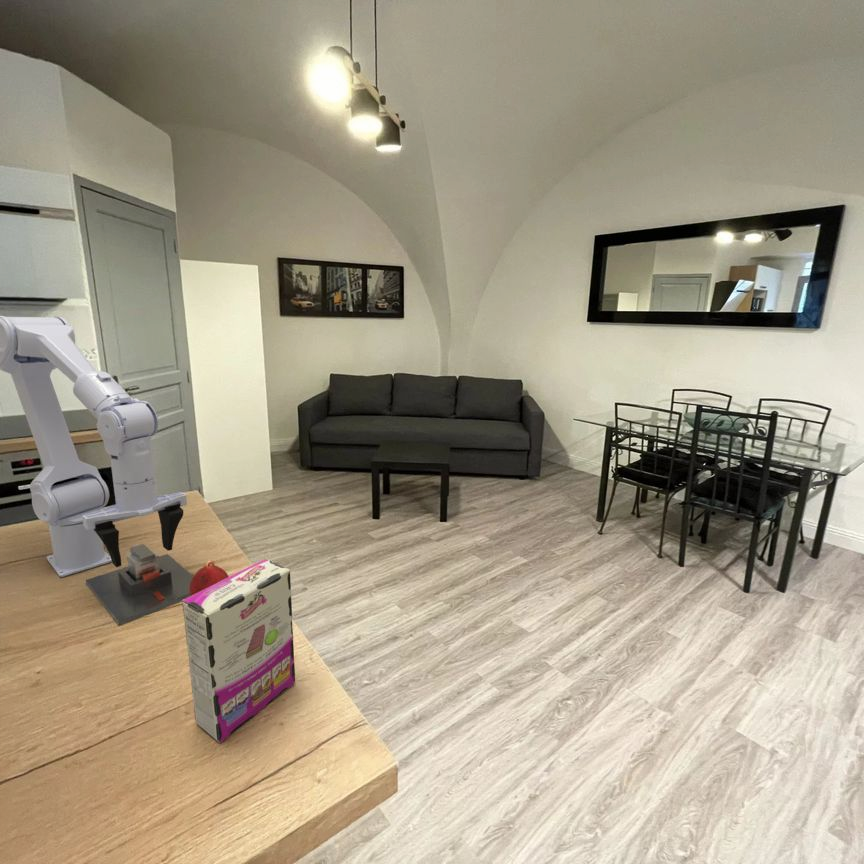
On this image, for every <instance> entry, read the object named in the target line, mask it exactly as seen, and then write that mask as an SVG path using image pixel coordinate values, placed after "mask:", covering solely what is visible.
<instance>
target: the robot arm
mask: <svg viewBox="0 0 864 864" xmlns="http://www.w3.org/2000/svg"><path fill="white" fill-rule="evenodd" d="M56 369H58V370H59V371H60V372H61V373H62V374H64V376H65V377H67V378H68V379H69V380H70V381H72V383H74V384H73V388H72V392H73V395H74V396H75V397H76V398H77V400H79V402H80V403H81V404H83V406H84V408H86V409H87V410H88V411H89V413H91V415H92V416H93V417H94V418H95V419H96V420H97V423H96V429H97V431H98V434H99V436H100V437H101V439H102V442H103V445H104V450H105V452H106V454H107V455H108V454H109V458H110V466H111V474H112V483H113V492H114V497H115V499H114V501H115V504H112V505H110V506H109V505H108V502H109V499H110V491H109V487H108V485H107V483H106V481H105V480H104V479H103V478H102V476H101V473H100V472H99V470H98V468H97V466H94V465H92V464H89V463H86V462H84V461H81V460H80V458H79V456H78V453H77V450H76V447H75V445H74V442H73V440H72V437H71V433H70V431H69V428H68V425H67V421H66V419H65V417H64V413H63V410H62V407H61V404H60V402H59V399H58V396H57V393H56V390H55V387H54V384H53V381H52V379H51V374H52V371H53V370H56ZM0 371H2V372H4V373H7V374H10V375H11V376H10V377H11V378H12V381H13V384H14V386H15V389H16V390H15V391H16V393H17V395H18V398H19V401H20V405H21V406H22V409H23V411H24V412H23V413H24V415H25V417H26V421H27V423H28V426H29V429H30V432H31V435H32V437H33V440H34V443H35V446H36V449H37V452H38V454H39V458H40V460H41V463H42V466H43V469H42V470H41V471H40V472H39V474H38V475H36V476H35V477H34V479H33V480H32V481H31V482H30V484H29V491H30V495H31V504H32V508H33V509H32V510H33V512H34V514H35V515H36V517H37V518H38V519H39V520H40V521H41V522H43V523H45V524H47V525H49V526H48V528H49V535H50V537H49V538H50V541H51V548H52V549H51V550H52V554H50V555H47V556H46V559H47V561H48V562H49V564H50V566H51V567H52V568H53V570H54V571H55V572H56V574H57V575H58V576H59V577H60V578H62V577H66V576H70V575H73V574H75V573H76V574H77V573H80V572H83V571H87V570H89V569H92V568H96V567H100V566H102V565H106V564H108V563H112V564H113V566H114V567H116V568H119V567H121V566H122V557H121V551H120V544H119V543H120V542H119V540H120V539H119V538H120V537H119V536H120V531H119V530H118V529H117V528H116V525H115V524H114V523H117V522H120V521H124V520H127V519H133V518H135V517H145V516H148V515H149V516H150V515H152V514H153V513H155V512H157V513H158V519H159V522H160V530H161V544H162V547H163V548H164V550H166V551H167V552H168V551H172V550H173V544H174V539H175V535H176V531H177V528H178V527H179V524H180V523H181V520H182V518H183V516H184V509H183V508H181V507H184V506H187V505H188V502H187V501H188V500H187V494H185V493H184V492H182V491H178V492H174V493H169V494H159V495H158V494H157V493H158V492H157V482H156V473H155V463H154V453H153V445H152V444H153V442H152V436H154V435H156V434H157V432H158V429H159V418H158V415H157V413H156V410H155V409H154V407H153V406H152V405H151V403H150V402H148V401H146V400H139V398H137V397H136V398H133V397H132V396H131V395H129V394H128V392H127V391H126V390H125V389H124V388H123V387H122V386H121V385H120V384H119V383H118V382H117V381H116V380H115V379H114V377H112V375H110V374H109V373H108V372H106V371H102V370H96V368H94V366H93V365H92V364H91V362H90V361H89V360H88V359H87V357H86V356H85V355H84V353H82V351H81V349H79V347H78V346H77V344H76V335H75V331H74V328H73V327H72V326H71V324H70V323H69V321H68V320H67V319H65V318H63V317H62V316H53V317H51V316H50V317H46V316H44V317H43V316H41V317H40V316H35V317H34V316H5V315H4V316H3V315H0ZM69 479H74V480H70V481H67V482H63V483H60V484H56V485H54V484H55V483H57V482H62V481H65V480H69ZM106 505H108V506H107V507H106ZM104 547H105V548H106V550H107V551H106V550H105V549H104ZM107 552H108V553H107Z"/></svg>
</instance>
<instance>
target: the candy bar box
mask: <svg viewBox="0 0 864 864" xmlns="http://www.w3.org/2000/svg"><path fill="white" fill-rule="evenodd" d="M291 584H292V583H291V569H290V568H287V567H285V566H282V565H279V564H277V563H276V562H272V561H271V560H270V559H266V558H265V559H262V560H260V561H258V562H256V563H254V564H252V565H250V566H248V567H246V568H243V569H241V570H240V571H238V572H236V573H234V574H232V575H230V576H229V577H228V578H226V579H224V580H222V581H220V582H218V583H216V584H214V585H212V586H210V587H208V588H206V589H204V590H202V591H200V592H198V593H196V594H194V595H192V596H190V597H188V598H186V599H184V600H182V601H181V602H182V612H183V621H184V628H185V637H186V638H185V639H186V647H187V655H188V663H189V664H188V665H189V674H190V676H189V677H190V682H191V692H192V702H193V711H194V720H195V724H196V725H197V726H198V727H199V728H200V729H201V730H202V731H204V732H206V733H207V734H208V735H209V736H210V737H211V738H213V739H214V740H215V741H217V742H218V743H219V744H221V743H222V742H224V741H225V740H226V739H228V738H229V737H230V736H231V735H233V733H235V732H236V731H238V730H239V729H240V728H241V727H242V726H243V725H245V724H246V723H248V722H249V721H250V720H251V719H252V718H254V717H255V716H256V715H257V714H258V713H260V712H261V711H262V710H263V709H265V708H266V707H267V706H269V705H270V704H271V703H272V702H273V701H274V700H275V699H277V698H278V697H280V695H282V694H283V693H284V692H286V690H288V689H289V688H291V687H292V686H293V685H294V684H295V683H296V671H295V652H294V647H295V646H294V632H293V630H294V629H293V611H292V610H293V609H292V608H293V607H292V604H293V603H292V585H291Z"/></svg>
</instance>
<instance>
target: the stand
mask: <svg viewBox="0 0 864 864" xmlns="http://www.w3.org/2000/svg"><path fill="white" fill-rule="evenodd" d="M159 562H160V572H161V573H160V572H159V571H158V570H156V571H153V572H150V573H147V574H144V575H142V579H141V580H138V581H134V580H133V579H132V578H131V577H130V576H129V570H128V566H125V567H123V568H120V569H116V570H112V571H110V572H106V573H105V574H104V573H103V574H101V575H97V576H94V577H91V578H87V579H86V580H85V585H86V586H87V588H89V589H90V591H91V592H92V593H93V595H94V596H95V597H96V599H98V602H100V604H101V605H102V607H104V609H105V610H106V611H107V613H108V614H109V615H110V617H111V618H112V619H113V620H114V621H115V623H116V624H117V626H122V625H124V624H127V623H129V622H132V621H134V620H137V619H140V618H143V617H145V616H147V615H150V614H153V613H155V612H157V611H160V610H162V609H165V608H167V607H169V606H172V605H175V604H177V603H180V602H182V600H184V599H186V598H188V597H190V596H191V595H190V583H191V580H192V578H193V577H194V574H192V573H191V572H190V571H189V570H187V569H186V568H184V567H183V566H182V565H181V564H180V563H179V562H177V560H175V559H174V558H173V557H172V556H171V555H169V554H168V553H166V554H162V555H159Z"/></svg>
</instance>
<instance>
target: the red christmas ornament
mask: <svg viewBox="0 0 864 864" xmlns="http://www.w3.org/2000/svg"><path fill="white" fill-rule="evenodd" d="M193 576H194V577H193V578H192V580H191V583H190V595H191V596H192V595H194V594H196V593H198V592H200V591H202V590H204V589H206V588H208V587H210V586H212V585H214V584H216V583H218V582H220V581H222V580H224V579H226V578H228V577H230V576H229V575H228V573H227V572H226V571H225V569H223V568H222V567H220V566H217V565H215V561H213V560H212V559H211V560H208V561H206V562H205V564H204V566H203V567H201V568H200V569H199V570H197V571H196V572H195V574H193Z"/></svg>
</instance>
